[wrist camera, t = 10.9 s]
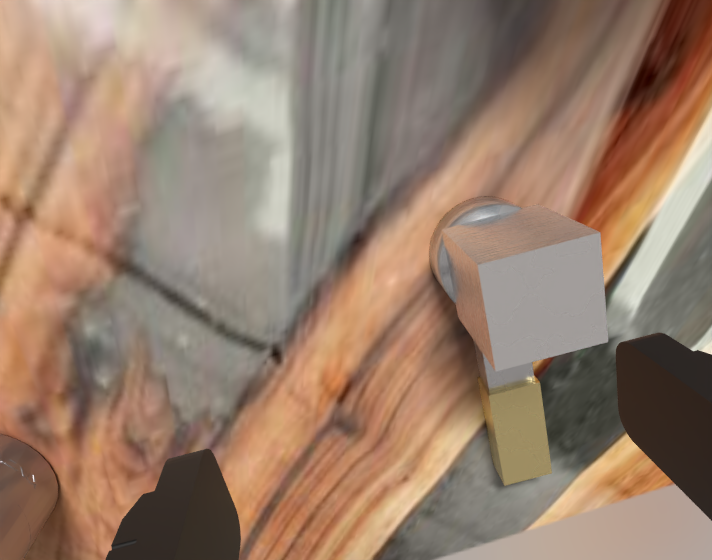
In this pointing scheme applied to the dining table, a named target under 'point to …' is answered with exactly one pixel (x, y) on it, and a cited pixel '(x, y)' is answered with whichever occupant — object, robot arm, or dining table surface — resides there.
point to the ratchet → (500, 372)
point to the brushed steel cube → (528, 284)
